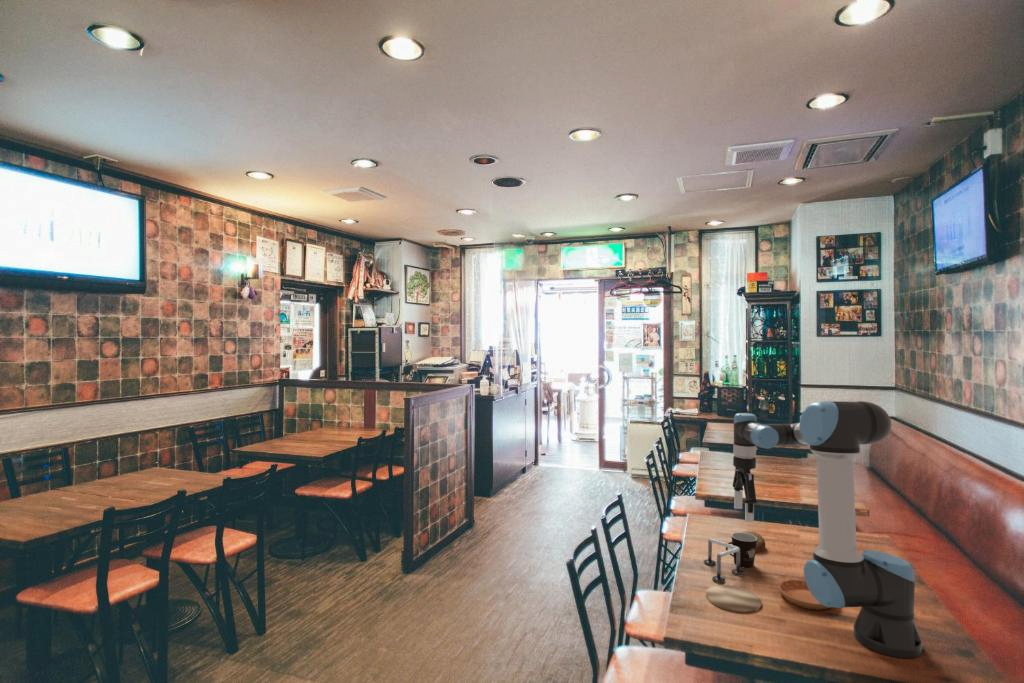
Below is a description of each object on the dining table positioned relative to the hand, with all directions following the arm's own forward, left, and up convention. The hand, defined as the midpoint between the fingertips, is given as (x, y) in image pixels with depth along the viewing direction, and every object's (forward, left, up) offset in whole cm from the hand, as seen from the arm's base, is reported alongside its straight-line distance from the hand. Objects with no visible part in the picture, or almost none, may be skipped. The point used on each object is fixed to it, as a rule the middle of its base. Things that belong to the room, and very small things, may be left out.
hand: (743, 514), depth 195 cm
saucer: (-25, -13, -18) cm, 33 cm away
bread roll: (+17, -8, -18) cm, 26 cm away
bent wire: (-9, +8, -18) cm, 21 cm away
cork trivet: (-29, +10, -18) cm, 35 cm away
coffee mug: (-1, +1, -18) cm, 18 cm away
